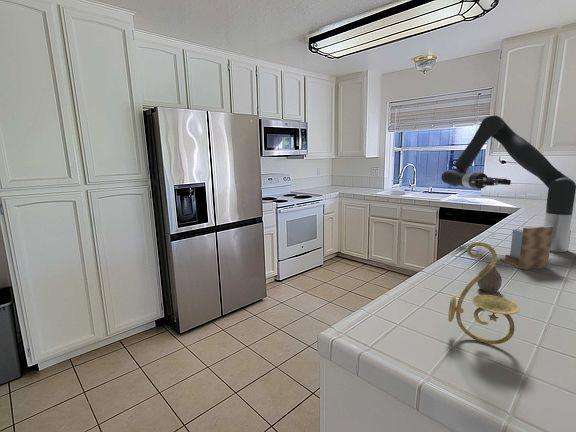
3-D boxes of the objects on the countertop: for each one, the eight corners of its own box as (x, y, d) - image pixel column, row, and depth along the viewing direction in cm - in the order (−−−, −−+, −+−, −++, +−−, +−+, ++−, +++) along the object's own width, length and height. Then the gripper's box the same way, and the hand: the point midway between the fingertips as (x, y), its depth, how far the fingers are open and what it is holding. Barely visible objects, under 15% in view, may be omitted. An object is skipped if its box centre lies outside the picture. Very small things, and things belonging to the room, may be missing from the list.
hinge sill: (520, 258, 138) (525, 220, 135) (547, 267, 127) (553, 226, 124) (496, 260, 136) (500, 222, 133) (521, 270, 125) (526, 228, 122)
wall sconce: (445, 341, 79) (453, 243, 74) (451, 324, 86) (459, 235, 82) (514, 361, 71) (528, 253, 66) (514, 341, 78) (526, 242, 74)
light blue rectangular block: (515, 259, 136) (519, 229, 133) (530, 264, 129) (534, 233, 126) (509, 259, 135) (513, 229, 133) (524, 265, 128) (528, 233, 126)
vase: (497, 287, 109) (499, 263, 108) (503, 296, 103) (506, 270, 101) (474, 285, 112) (476, 261, 110) (478, 293, 105) (481, 268, 103)
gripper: (462, 173, 156) (488, 174, 140) (487, 172, 159) (516, 173, 143) (461, 188, 157) (487, 192, 142) (486, 187, 160) (514, 190, 144)
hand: (501, 182), depth 142 cm, fingers open, 8 cm apart
